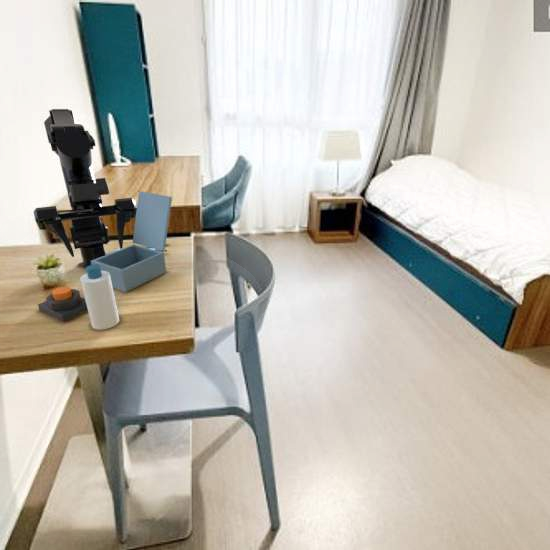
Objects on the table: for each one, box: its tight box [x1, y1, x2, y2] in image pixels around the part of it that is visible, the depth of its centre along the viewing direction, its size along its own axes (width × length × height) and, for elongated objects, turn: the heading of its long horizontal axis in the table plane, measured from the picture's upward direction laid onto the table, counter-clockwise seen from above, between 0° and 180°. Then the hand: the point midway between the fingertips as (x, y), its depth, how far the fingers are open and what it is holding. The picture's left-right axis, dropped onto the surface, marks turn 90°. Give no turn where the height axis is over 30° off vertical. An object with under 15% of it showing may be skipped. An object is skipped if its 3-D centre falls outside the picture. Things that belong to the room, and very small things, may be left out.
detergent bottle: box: [79, 264, 120, 330], centre depth 75 cm, size 5×5×13 cm
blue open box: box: [91, 243, 167, 293], centre depth 96 cm, size 14×12×6 cm
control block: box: [37, 288, 88, 323], centre depth 81 cm, size 9×7×4 cm
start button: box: [51, 286, 72, 301], centre depth 80 cm, size 4×4×2 cm
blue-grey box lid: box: [132, 190, 173, 252], centre depth 99 cm, size 14×12×1 cm
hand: (97, 252), depth 75 cm, fingers open, 9 cm apart
